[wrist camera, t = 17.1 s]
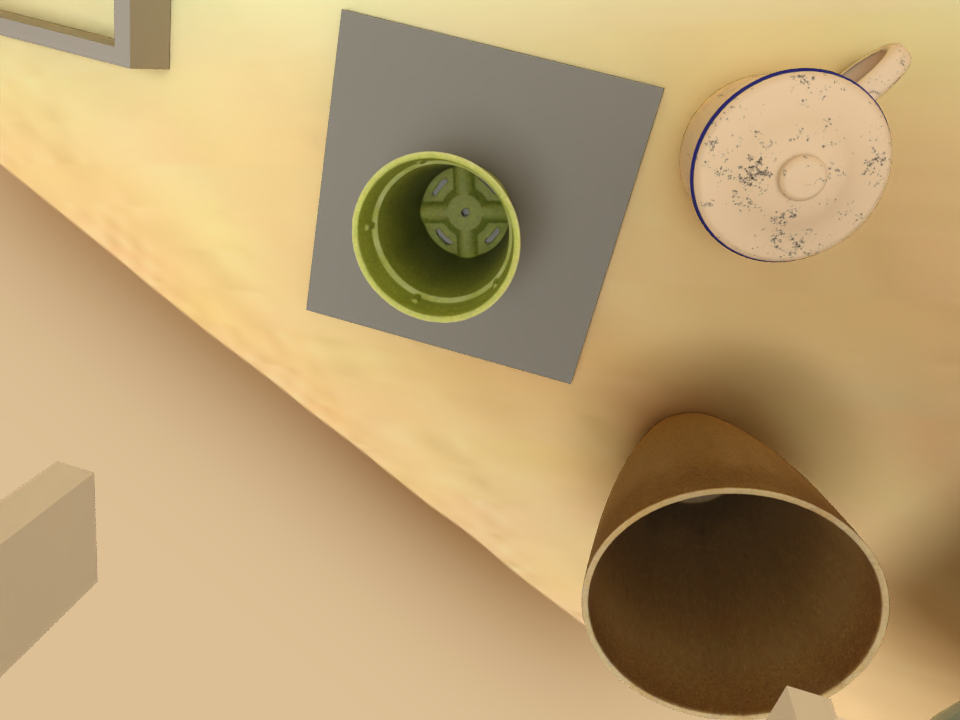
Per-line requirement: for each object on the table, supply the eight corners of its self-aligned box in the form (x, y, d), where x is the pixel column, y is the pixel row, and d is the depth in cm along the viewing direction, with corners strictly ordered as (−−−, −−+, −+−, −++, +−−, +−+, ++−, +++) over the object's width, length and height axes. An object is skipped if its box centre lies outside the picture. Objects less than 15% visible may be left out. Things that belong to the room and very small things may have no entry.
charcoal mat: (663, 88, 39) (664, 88, 39) (571, 381, 48) (570, 384, 47) (344, 9, 41) (341, 9, 40) (309, 307, 49) (306, 309, 49)
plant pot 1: (475, 308, 46) (448, 355, 38) (370, 218, 45) (319, 247, 37) (566, 206, 42) (557, 235, 35) (454, 105, 41) (418, 111, 33)
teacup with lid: (740, 257, 42) (784, 317, 32) (643, 154, 41) (655, 180, 30) (915, 112, 38) (1035, 125, 27) (812, -10, 36) (896, -47, 26)
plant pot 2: (771, 554, 50) (837, 747, 36) (575, 518, 52) (563, 688, 38) (831, 378, 44) (939, 523, 30) (607, 344, 46) (607, 466, 32)
